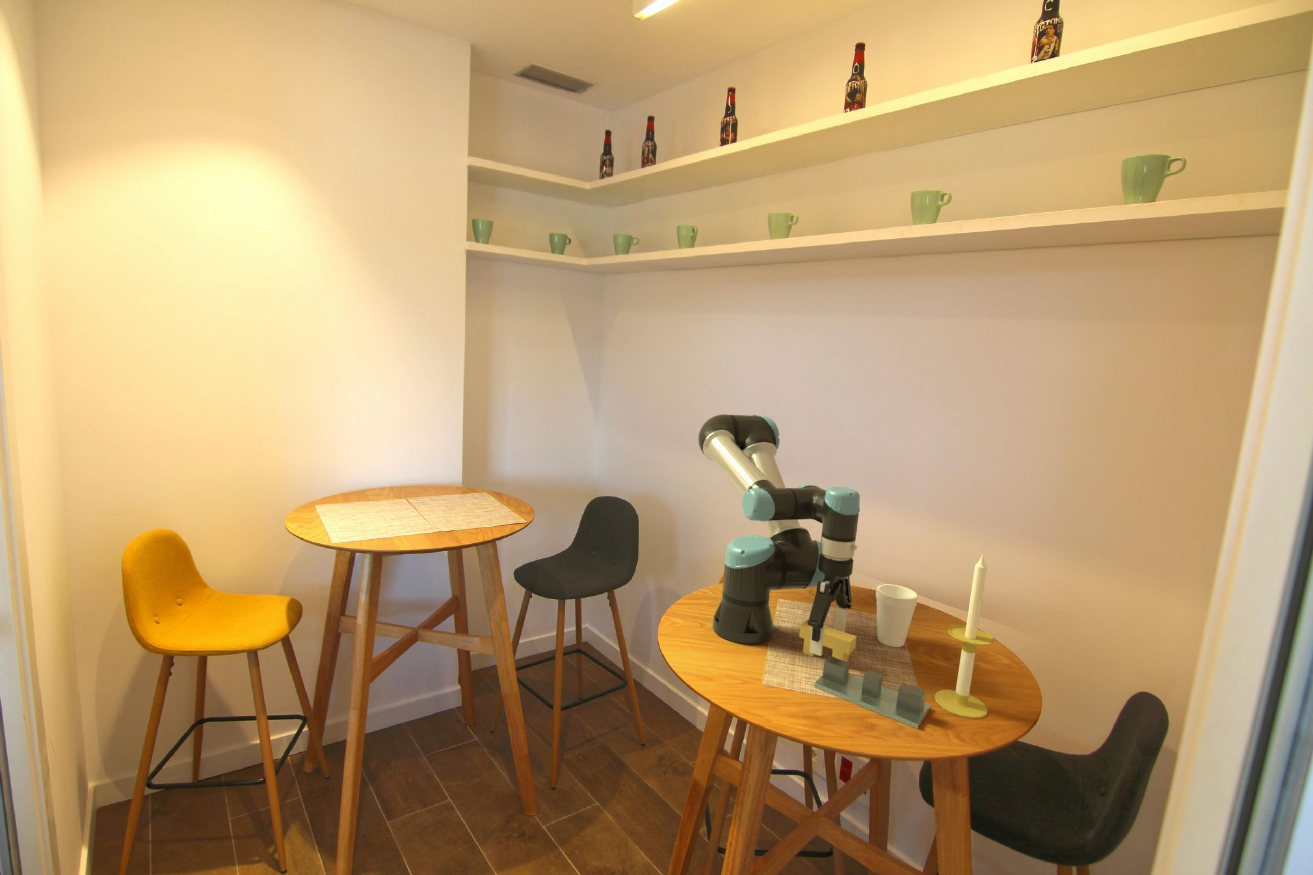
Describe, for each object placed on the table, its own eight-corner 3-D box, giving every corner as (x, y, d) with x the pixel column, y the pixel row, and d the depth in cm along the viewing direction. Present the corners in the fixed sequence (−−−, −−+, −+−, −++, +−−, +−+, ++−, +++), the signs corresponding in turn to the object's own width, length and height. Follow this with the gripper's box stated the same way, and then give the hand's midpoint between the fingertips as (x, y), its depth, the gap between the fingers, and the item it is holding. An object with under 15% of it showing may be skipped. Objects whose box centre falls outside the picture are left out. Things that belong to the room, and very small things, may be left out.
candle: (963, 722, 121) (987, 564, 116) (923, 695, 130) (944, 547, 125) (999, 713, 125) (1023, 560, 120) (957, 687, 134) (978, 544, 129)
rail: (814, 686, 130) (816, 664, 130) (830, 670, 137) (832, 649, 137) (917, 728, 118) (920, 704, 117) (929, 708, 125) (932, 685, 124)
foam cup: (914, 652, 149) (920, 601, 147) (874, 646, 151) (880, 596, 149) (906, 635, 158) (912, 587, 156) (868, 629, 160) (874, 582, 158)
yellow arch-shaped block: (797, 650, 146) (800, 624, 145) (804, 644, 149) (807, 619, 148) (847, 669, 139) (850, 642, 138) (853, 662, 142) (856, 636, 141)
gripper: (831, 573, 128) (821, 668, 131) (871, 547, 148) (861, 631, 151) (798, 564, 133) (789, 656, 135) (840, 540, 152) (832, 621, 155)
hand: (827, 643), depth 143 cm, fingers open, 13 cm apart
